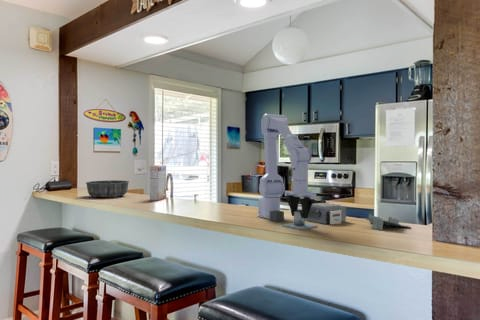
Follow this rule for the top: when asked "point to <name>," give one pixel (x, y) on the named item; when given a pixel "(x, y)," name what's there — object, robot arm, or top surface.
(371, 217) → the metal bracket
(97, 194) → the bundt pan
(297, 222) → the cylinder
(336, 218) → the label tile
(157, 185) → the cracker box
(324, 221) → the box
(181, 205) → the top surface
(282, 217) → the rubber block
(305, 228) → the pad
